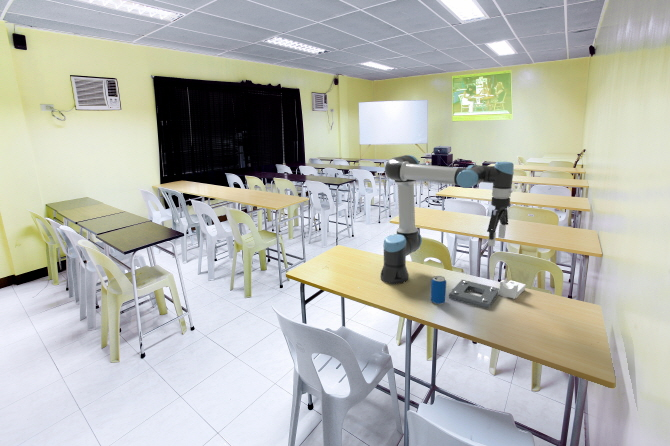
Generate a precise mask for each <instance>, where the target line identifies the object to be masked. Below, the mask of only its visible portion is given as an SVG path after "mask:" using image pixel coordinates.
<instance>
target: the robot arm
mask: <svg viewBox="0 0 670 446" xmlns="http://www.w3.org/2000/svg"><path fill="white" fill-rule="evenodd" d="M384 166H385V167H384V173H385V175H386V176H387V178H389V179H390V180H392V181H394V183H395V184H396V185H397V203H398V222H399V223H398V225H399V226H398V228H397V229H396V234H394V233H393V234H390V235H387V236H386V237H385V238H384V239H383V266H382V269H381V272H380V280H381V281H382V282H384V283H386V284H389V285H390V284H391V285H401V284H405V283H407V282H408V281H409V278H410V276H409V272H408V268H407V266H406V264H407V263H406V260H407V256H409V255H410V254H411V255H412V253H414V252H416V251H418V249H420V247H421V246H422V242H423V238H422V236H421V234H420V232H419V229H418V228H417V227H416V217H415V216H416V215H415V213H416V212H415V183H416V182H417V181H420V182H427V183H428V182H429V183H435V184H436V183H437V184H445V185H455V186H460V187H461V188H464V189H467V188H472V187H474V186H475V185H478V184H480V183H488V184H492V192H491V196H492V197H491V202H490V205H491V206H493V207H494V209H492V210H491V215H490V219H489V223H488V227H487V229H486V232H487V233H488V241H487V246H489V247H495V245H496V236H497V237H498V238H499V239H506V229H507V226H509V215H508V213H509V211H508V207H510V205H511V198H510V197H511V195H512V193H513V190H512V186H513V178H514V163H513V162H512V161H496V162H495V164H494V165H478V164H474V165H473V164H471V165H467V167H466V168H465V167H464V168H463V167H461V168H460V167H451V166H441V165H440V166H439V165H427V164H421V163H420V161H419V159H418V158H417V157H416V156H414V155H411V154H405V155H400V156H396V157H395V156H394V157H392V158H389V160H387V162H386V164H385V165H384ZM499 222H500V223H499ZM498 225H499V228H497V227H498ZM497 229H498V234H497V232H496V231H497ZM496 234H497V235H496Z"/></svg>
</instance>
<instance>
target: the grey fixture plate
mask: <svg viewBox="0 0 670 446" xmlns="http://www.w3.org/2000/svg"><path fill="white" fill-rule="evenodd" d="M499 290H500V287H495V286H490V285H487V284H482V283H478V282H475V281H470V280H467V279H466V280H465V279H461V280H460V281H459V282H458V283H457V284H456V285H455V287H453V288H452V289H451V291H450V292H449V293H448V299H451V300H455V301H457V302H460V303H461V302H462V303H463V304H464V303H465V304H468V305H471V306H474V307H475V306H476V307H479V308H482V309H486V310H490V308H491V306H492V305H493V303H494V302H495V300H496V299H497V298H498V296H499ZM468 292H474V293H477V294H481V295H480V296H479V295H475V294H472V293H468Z"/></svg>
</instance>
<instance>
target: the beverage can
mask: <svg viewBox="0 0 670 446" xmlns="http://www.w3.org/2000/svg"><path fill="white" fill-rule="evenodd" d="M430 282H431V283H430V301H431V303H433V304H435V305H442V304H444V303H445V302H446V292H447V291H446V290H447V280H446V277H444V276H442V275H433V277H432V279H431V281H430Z"/></svg>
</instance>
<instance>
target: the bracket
mask: <svg viewBox="0 0 670 446" xmlns="http://www.w3.org/2000/svg"><path fill="white" fill-rule="evenodd" d="M526 286H527V284H525V283H523V282H518V281H515V280H509V281H508V282H506V280H505V279H501V280H500V282H499V294H498V296H500V297H503V298H510V299H513V300H515V299H517V298H518V296H519V295H521V293H523V292H524V291H525V290H526Z"/></svg>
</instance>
